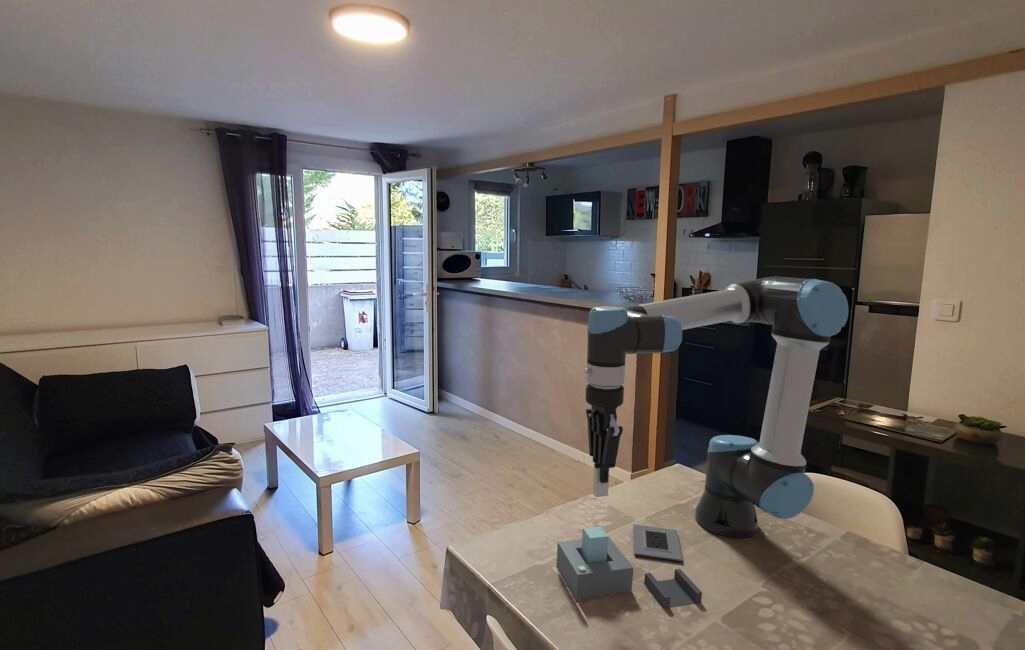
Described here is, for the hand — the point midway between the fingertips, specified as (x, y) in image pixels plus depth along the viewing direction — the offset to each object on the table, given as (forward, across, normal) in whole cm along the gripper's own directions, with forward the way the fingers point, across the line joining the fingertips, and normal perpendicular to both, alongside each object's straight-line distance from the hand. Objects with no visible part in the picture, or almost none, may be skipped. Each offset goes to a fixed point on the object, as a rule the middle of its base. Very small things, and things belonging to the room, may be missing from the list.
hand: (600, 494), depth 111 cm
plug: (+18, 0, -1) cm, 18 cm away
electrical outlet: (+20, -9, +19) cm, 29 cm away
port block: (+19, 0, -1) cm, 19 cm away
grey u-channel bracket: (+20, +8, +13) cm, 25 cm away
